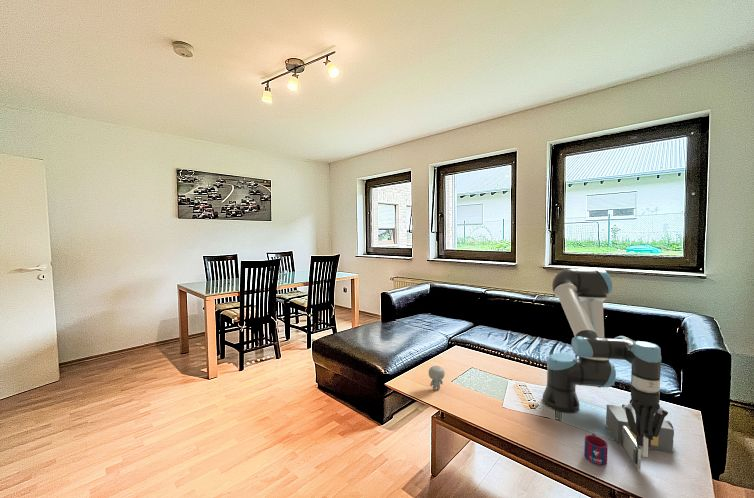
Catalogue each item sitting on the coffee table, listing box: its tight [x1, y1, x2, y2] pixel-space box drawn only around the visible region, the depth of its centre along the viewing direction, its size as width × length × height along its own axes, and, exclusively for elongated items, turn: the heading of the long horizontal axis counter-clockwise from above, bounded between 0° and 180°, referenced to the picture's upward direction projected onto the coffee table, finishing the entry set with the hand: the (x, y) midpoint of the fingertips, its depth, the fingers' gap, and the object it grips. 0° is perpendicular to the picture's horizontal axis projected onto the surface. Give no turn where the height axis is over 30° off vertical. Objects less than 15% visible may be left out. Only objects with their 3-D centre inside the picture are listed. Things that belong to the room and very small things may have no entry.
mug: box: [583, 433, 609, 467], centre depth 113 cm, size 7×10×7 cm
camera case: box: [605, 404, 675, 454], centre depth 122 cm, size 19×12×10 cm, turn 71°
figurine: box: [428, 365, 445, 391], centre depth 161 cm, size 8×8×12 cm
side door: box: [621, 425, 642, 471], centre depth 112 cm, size 14×2×8 cm, turn 159°
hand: (643, 454), depth 107 cm, fingers closed
